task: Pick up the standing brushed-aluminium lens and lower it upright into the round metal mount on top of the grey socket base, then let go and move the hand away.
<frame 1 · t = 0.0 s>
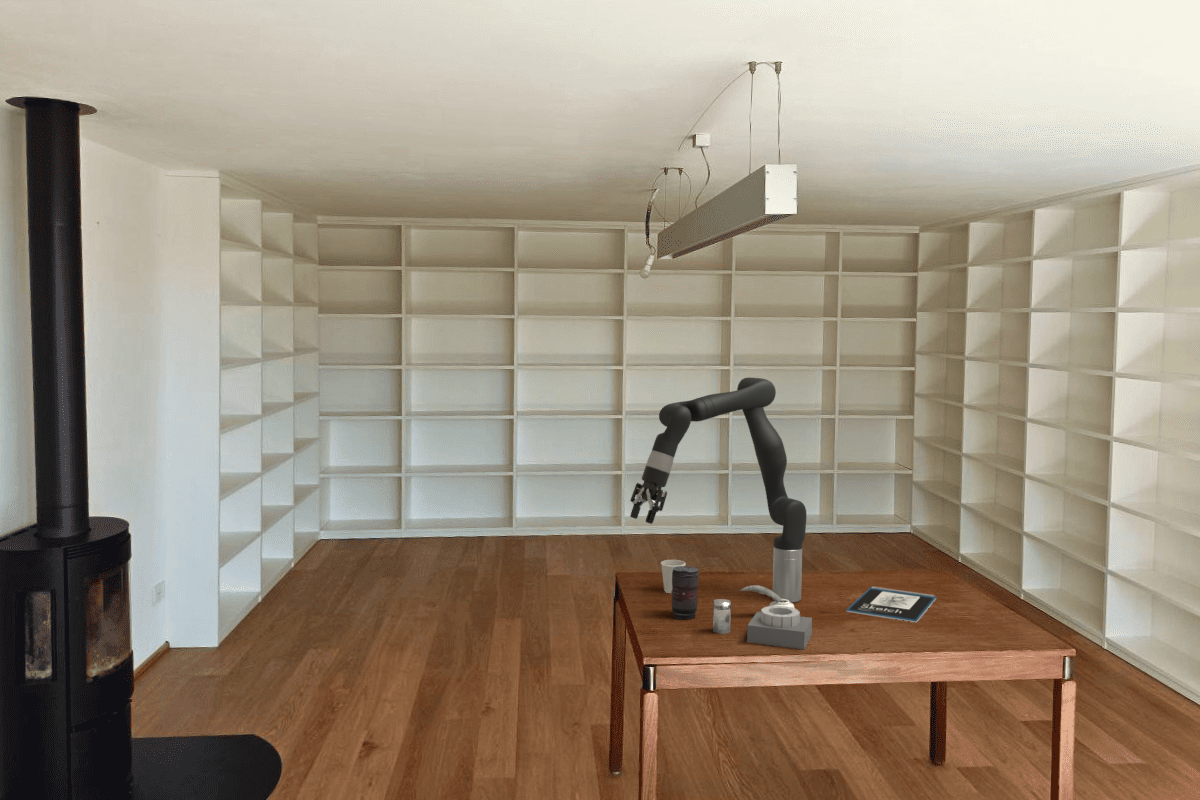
hand: (640, 520, 288), 31 cm above the table, tool tilted 20°, fingers open, 8 cm apart
camera lens: (684, 617, 299), on the table
sketchbook: (892, 607, 313), on the table
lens: (721, 631, 285), on the table
grey socket base: (779, 638, 279), on the table
inkwell: (767, 617, 299), on the table
dixie cup: (672, 592, 326), on the table
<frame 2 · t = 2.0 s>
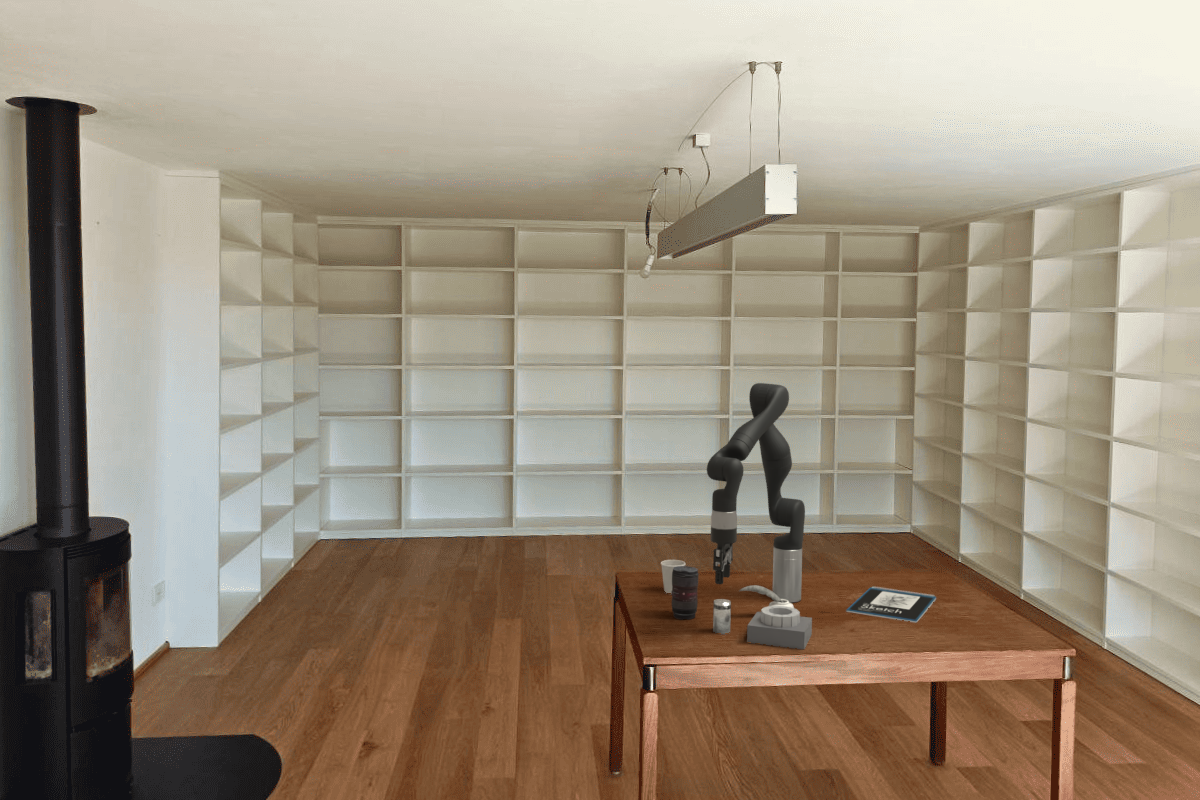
hand: (722, 580, 283), 15 cm above the table, tool pointing down, fingers open, 8 cm apart
nothing on the table moved.
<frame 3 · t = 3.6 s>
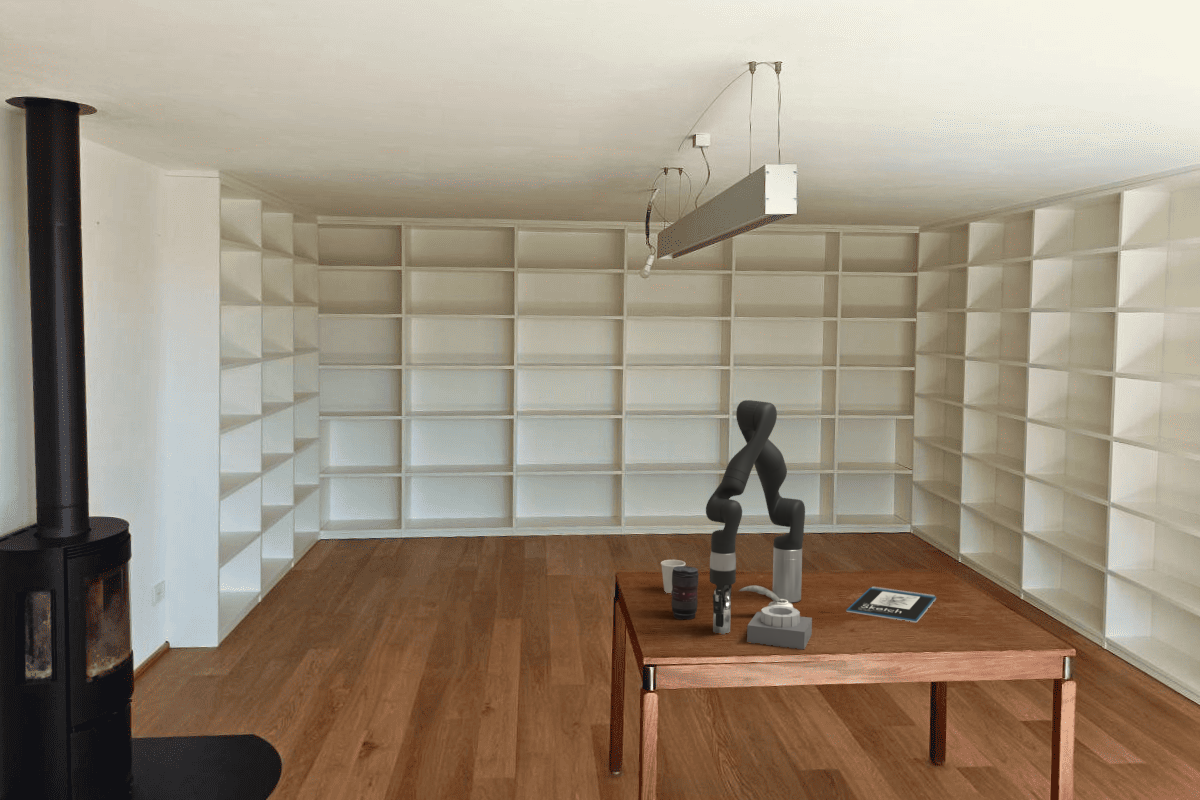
hand: (721, 623, 285), 2 cm above the table, tool pointing down, fingers closed on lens, 5 cm apart
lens: (721, 631, 285), on the table, touching gripper
everything else where it was.
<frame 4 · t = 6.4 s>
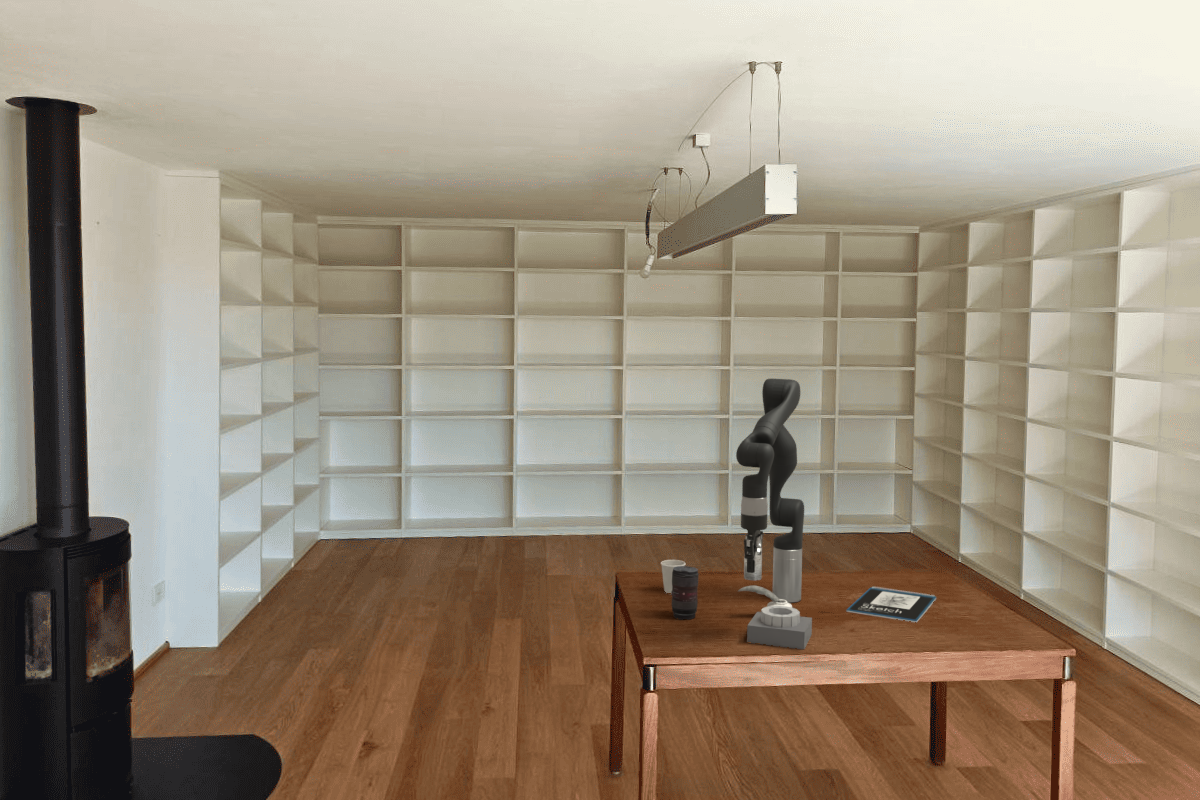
hand: (753, 569, 280), 19 cm above the table, tool pointing down, fingers closed on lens, 5 cm apart
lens: (752, 578, 280), point 17 cm above the table, touching gripper
everything else where it was.
when the fingers open (9 cm above the table, at t = 9.4 s): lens drops 1 cm, resting on grey socket base.
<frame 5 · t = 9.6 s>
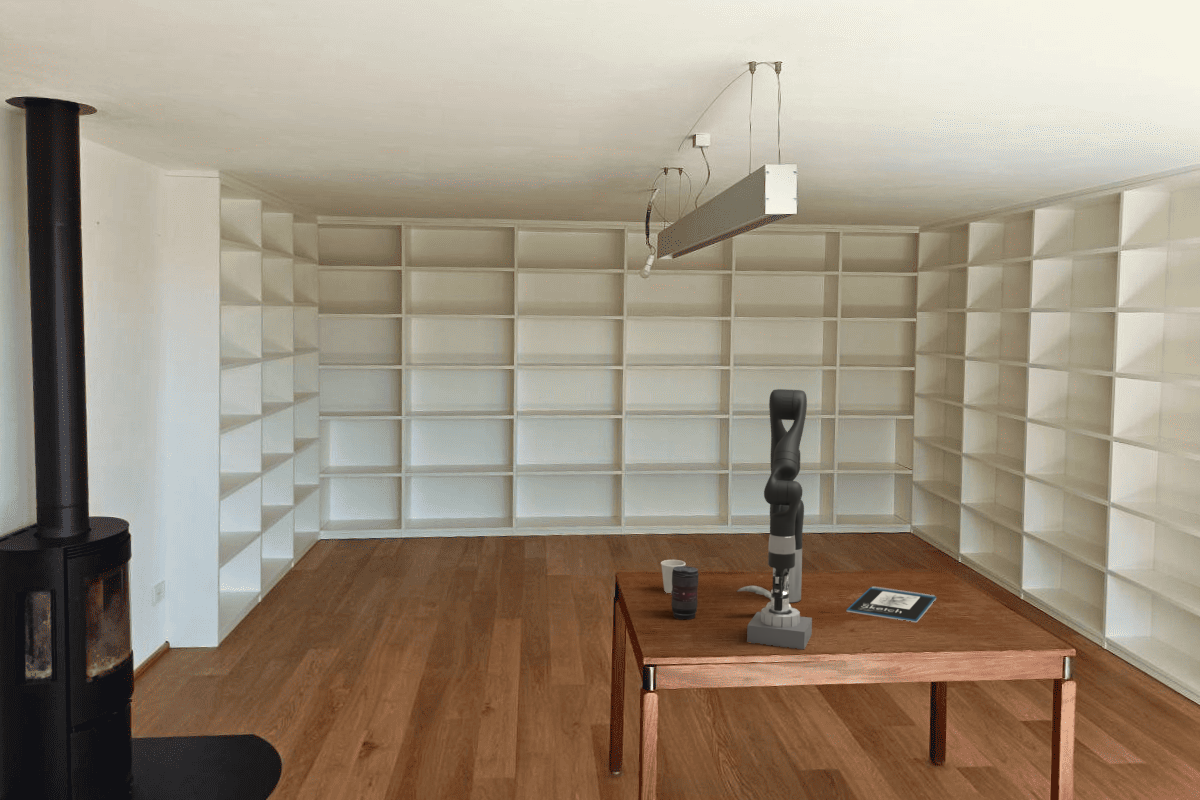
hand: (780, 606, 278), 9 cm above the table, tool pointing down, fingers open, 7 cm apart
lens: (779, 621, 278), point 5 cm above the table, touching grey socket base
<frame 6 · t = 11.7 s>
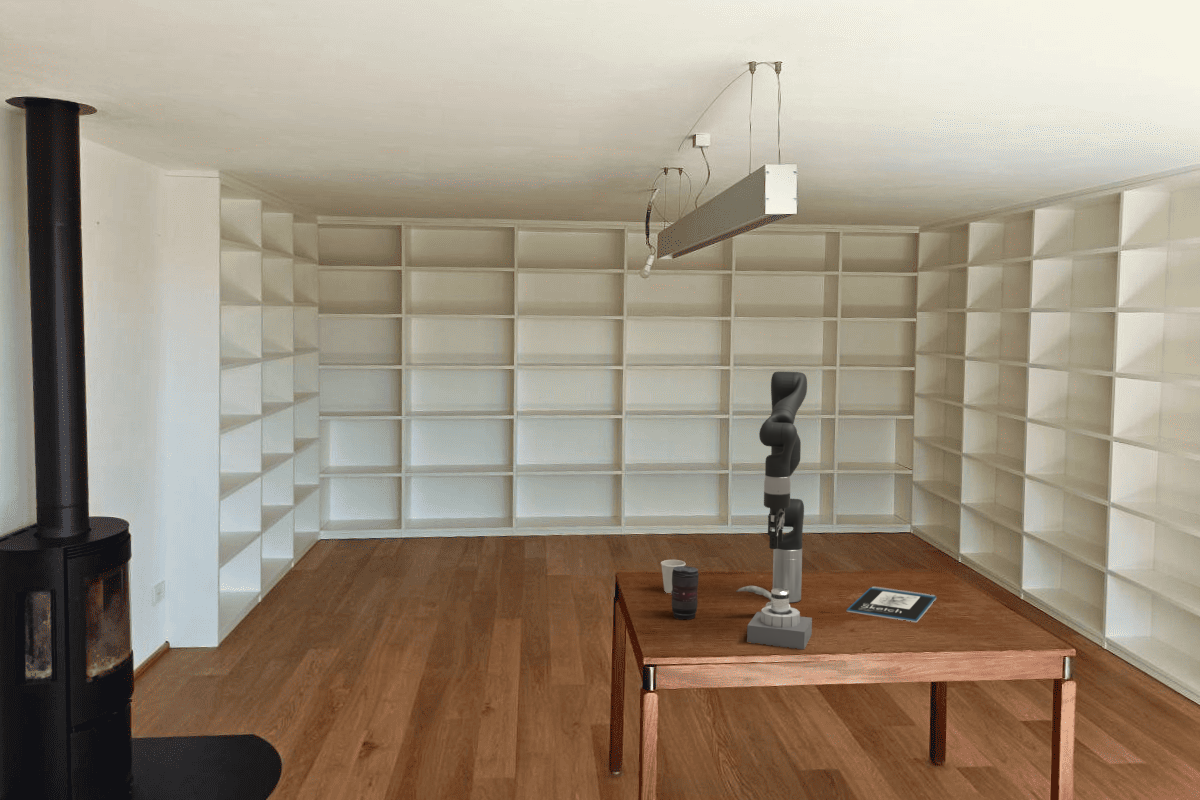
hand: (775, 545, 284), 25 cm above the table, tool pointing down, fingers open, 8 cm apart
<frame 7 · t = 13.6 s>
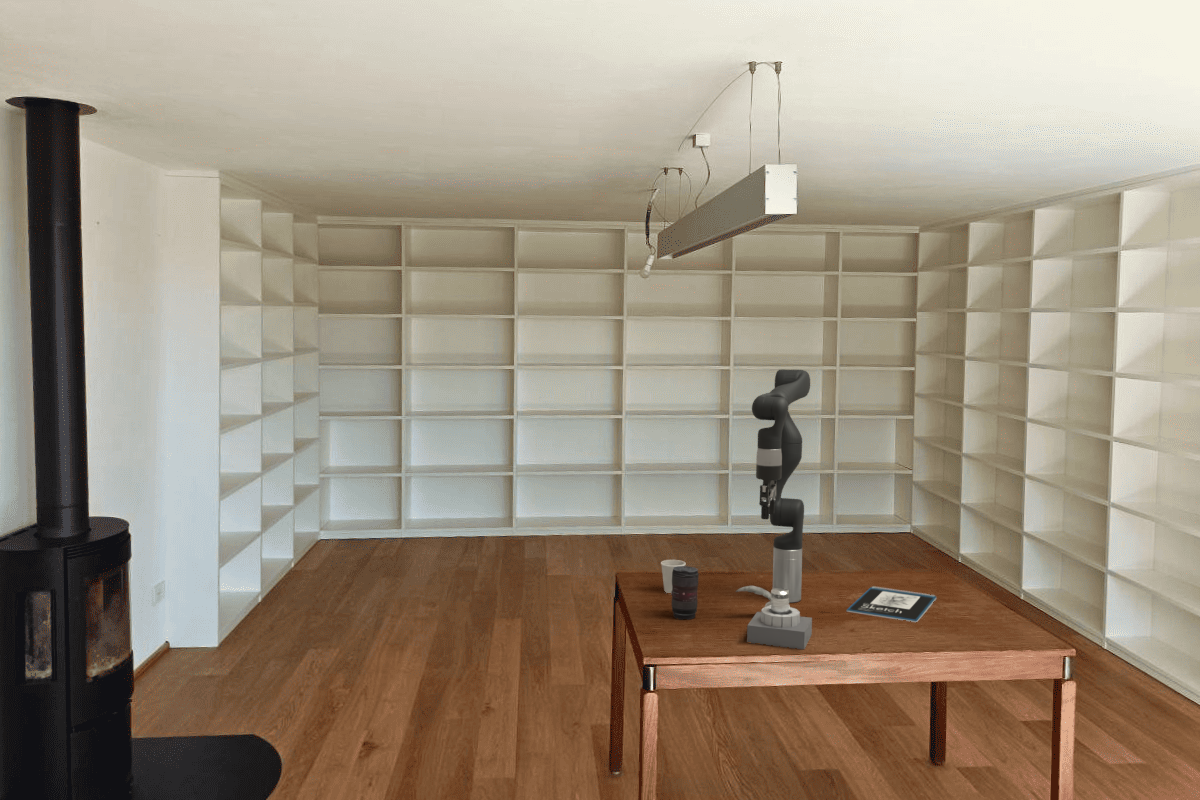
hand: (767, 516, 293), 32 cm above the table, tool pointing down, fingers open, 8 cm apart
at the end: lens 0.2 cm off-centre on the grey socket base, point 5.1 cm above the grey socket base's base; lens tilted 1°; the gripper is holding nothing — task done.
